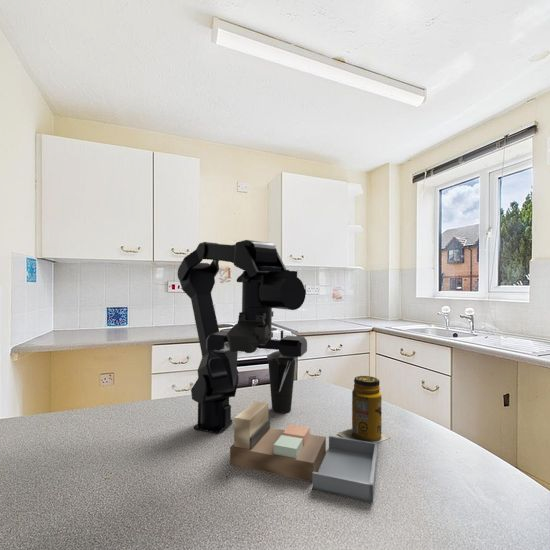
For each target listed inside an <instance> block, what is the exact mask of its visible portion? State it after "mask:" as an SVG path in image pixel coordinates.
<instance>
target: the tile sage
mask: <svg viewBox="0 0 550 550" xmlns="http://www.w3.org/2000/svg"><path fill="white" fill-rule="evenodd" d="M302 448H303V439H302V438H296V437H290V436H284V435H281V436H280V438H279V439H278V440H277V441H276V443H275V444H274V454H277V455H282V456H288V457H293V458H297V456H298V455H299V453H300V451H301V449H302Z"/></svg>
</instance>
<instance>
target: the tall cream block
mask: <svg viewBox="0 0 550 550" xmlns="http://www.w3.org/2000/svg"><path fill="white" fill-rule="evenodd" d="M233 423H234V424H233V430H234V431H233V444H234V446H235V447H241V448H246V449H251V450H252V449H253V447H254V446H255V445H256V444H257V443H258V442H259V441H260V440H261V439H262V437H263V436H264V435H265V434H266V433H267V432H268V431H269V430H270V428H271V418H269V402H264V401H263V402H262V401H261V402H260V401H253V402H252V403H251V404H249V405H248V406H247V407H246V408H244V409H243V410H242V411H240V412H239V413H238V414H237V415H236V416H234V419H233Z"/></svg>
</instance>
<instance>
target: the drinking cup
mask: <svg viewBox="0 0 550 550" xmlns="http://www.w3.org/2000/svg"><path fill="white" fill-rule="evenodd" d="M282 338H284V330H280V339H282ZM280 355H282V354H281V353H280V352H279V350H276V351H273V352H271V353H269V354H267V355H266V358H267V363H268V375H269V386H270V387H269V388H270V399H271V410H272V411H273V412H274V413H276V412H277V413H276V414H287V413H289V412H291V410H292V403H293V394H294V393H293V392H294V390H293V389H294V382H295V381H294V380H295V369H296V360H297V359H295V360H294V361H292V363H291V365H290V367H289V369H288V372H287V374H286V377H285V380H284V382H283V385H282V388H281V390H280V392H277V375H278V359H277V357H279V356H280Z"/></svg>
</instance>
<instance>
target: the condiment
mask: <svg viewBox="0 0 550 550" xmlns="http://www.w3.org/2000/svg"><path fill="white" fill-rule="evenodd" d="M353 383H354V384H353V389H352V390H351V391H352V392H351V393H352V394H351V397H352V398H351V428H350V429H348V428H347V429H346V430H345V429H344V430H343V431H338V432H336V434H338V435H339V437H342V438H348V439H355V440H361V441H367V442H373V443H378V444H379V443H380V442H383V441H386V440H389V439H391V437H390V436H389V435H386V434H385V433H382V430H383V429H382V428H383V427H382V414H383V412H382V402H383V401H382V399H383V398H382V392H381V391H380V390H381V387H380V383H381V382H380V380H379V379H378V378H376V377H374V376H370V375H359V376H355V377H354V380H353Z"/></svg>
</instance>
